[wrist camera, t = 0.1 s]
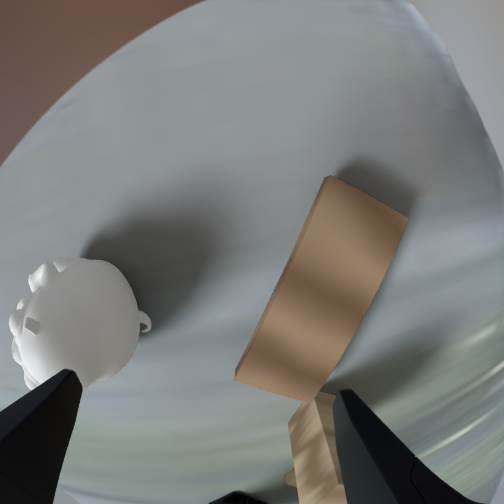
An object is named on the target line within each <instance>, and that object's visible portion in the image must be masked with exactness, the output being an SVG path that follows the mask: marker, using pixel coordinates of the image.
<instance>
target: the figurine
mask: <svg viewBox="0 0 504 504" xmlns="http://www.w3.org/2000/svg"><path fill="white" fill-rule="evenodd" d="M29 285H30V287H31V291H32V292H35V291H36V289H37V288H38V287H39V286H40V289H39V290H38V291H37V292H35V293H34V294H33V295H32V296H31V297H24V298H22V299H21V300H20V301H19V303H18V306H17V310H16V311H14V312H13V313H12V314H11V316H10V320H9V326H10V330H11V332H12V333H13V335H14V338H13V343H12V355H13V358H14V360H15V361H16V362H17V363H19V364H20V365H21V366H22V367H23V370H24V372H25V373H24V379H25V383H26V385H27V386H28V387H29V389H31V390H33V389H34V388H36V387H37V386H39V385H40V384H42V383H43V382H45V381H46V380H48V379H49V378H51V377H52V376H54V375H55V374H57V373H58V372H60V371H61V370H63V369H70V370H74V371H75V372H76V374H77V376H78V378H79V380H80V382H81V384H82V387H83V389H85V388H87V387H88V386H89V385H90V384H92V383H97V382H101V381H104V380H107V379H109V378H111V377H112V376H114V375H115V374H117V373H118V372H119V371H120V370H121V369H122V368H123V367H124V366H125V365H126V364H127V363H128V361H129V360H130V358H131V357H132V355H133V353H134V351H135V349H136V346H137V343H138V339H139V333H140V323H143V324H145V325H147V328H146V329H145V330H142V332H143V333H146V332H149V331H150V330H151V320H150V318H149V317H148V315H147V314H145V313H144V312H142V311H140V310H138V306H137V302H136V299H135V296H134V293H133V291H132V289H131V287H130V285H129V283H128V281H127V280H126V278H125V277H124V275H123V274H122V273H121V272H120V271H119V270H118V269H117V268H116V267H115V266H114V265H112V264H111V263H109V262H106V261H103V260H89V259H85V258H77V257H61V258H58V259H57V260H55V261H54V262H53V264H52V263H50V262H45V263H43V264H42V265H41V266H40V267H39V268H38V269H37V270H36V272H34V273H31V274H30V275H29Z"/></svg>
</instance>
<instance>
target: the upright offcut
mask: <svg viewBox="0 0 504 504" xmlns="http://www.w3.org/2000/svg"><path fill="white" fill-rule="evenodd" d="M335 397H336V395H332V394H328V393H324V392H321V391H319V392H318V394H317V395H316V397H315V398H314V400H313V401H312V403H308V402H304V401H303V402H302V404H301V405H300V407H299V408H298V409H297V411H296V412H295V414H294V415H293V417H292V418H291V419H290V421H289V422H288V427H289V434H290V441H291V448H292V455H293V462H294V469H295V476H296V483H297V490H298V497H299V504H347V499H346V494H345V489H344V484H343V479H342V474H341V470H340V465H339V460H338V455H337V450H336V442H335V430H334V419H333V403H334V400H335Z"/></svg>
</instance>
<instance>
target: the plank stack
mask: <svg viewBox="0 0 504 504" xmlns="http://www.w3.org/2000/svg"><path fill="white" fill-rule="evenodd" d="M408 220H409V218H407V217H405V216H404V215H402V214H400V213H399V212H397V211H395V210H394V209H392V208H390V207H388V206H387V205H385V204H383V203H381V202H380V201H378V200H376V199H374V198H372V197H371V196H369V195H367V194H365V193H363V192H361V191H360V190H358V189H356V188H354V187H352V186H350V185H348V184H346V183H344V182H342V181H340V180H339V179H337V178H335V177H333V176H331V175H330V176H327V177H325V178H324V180H323V183H322V185H321V187H320V190H319V192H318V194H317V197H316V199H315V201H314V204H313V206H312V208H311V211H310V213H309V215H308V217H307V220H306V222H305V224H304V226H303V229H302V231H301V233H300V235H299V238H298V240H297V242H296V244H295V246H294V249H293V251H292V253H291V255H290V257H289V260H288V262H287V264H286V266H285V268H284V270H283V273H282V275H281V277H280V279H279V281H278V283H277V285H276V288H275V290H274V292H273V294H272V296H271V298H270V300H269V302H268V304H267V306H266V309H265V311H264V313H263V315H262V317H261V319H260V321H259V323H258V325H257V327H256V329H255V331H254V333H253V335H252V337H251V339H250V341H249V343H248V345H247V347H246V349H245V351H244V353H243V355H242V357H241V359H240V361H239V363H238V365H237V367H236V369H235V379H234V380H237V381H240V382H243V383H245V384H248V385H251V386H254V387H257V388H260V389H263V390H267V391H270V392H273V393H276V394H279V395H283V396H286V397H290V398H293V399H297V400H300V401H304V402H308V403H312V401H313V400H314V398H315V397H316V395H317V394H318V392H319V391H320V389H321V388H322V386H323V385H324V383H325V382H326V380H327V379H328V377H329V376H330V374H331V372H332V371H333V369H334V368H335V366H336V364H337V363H338V361H339V359H340V358H341V356H342V354H343V353H344V351H345V349H346V348H347V346H348V344H349V343H350V341H351V339H352V337H353V336H354V334H355V332H356V330H357V328H358V327H359V325H360V323H361V321H362V319H363V317H364V316H365V314H366V312H367V310H368V308H369V306H370V304H371V302H372V300H373V298H374V296H375V294H376V292H377V290H378V288H379V286H380V284H381V282H382V280H383V278H384V276H385V274H386V271H387V269H388V267H389V265H390V263H391V261H392V258H393V256H394V254H395V252H396V249H397V247H398V245H399V242H400V240H401V237H402V235H403V233H404V230H405V228H406V225H407V223H408Z"/></svg>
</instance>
